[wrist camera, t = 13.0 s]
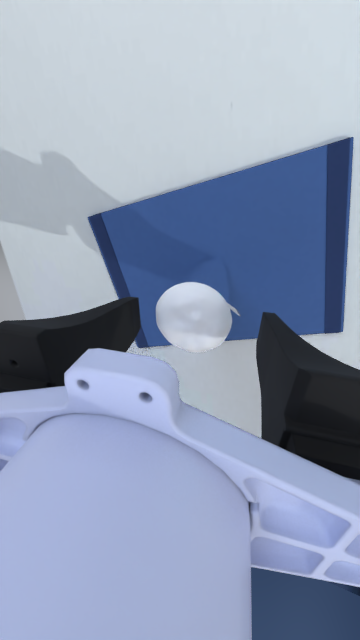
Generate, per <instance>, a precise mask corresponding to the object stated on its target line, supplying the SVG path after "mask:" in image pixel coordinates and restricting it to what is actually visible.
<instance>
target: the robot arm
mask: <svg viewBox="0 0 360 640" xmlns="http://www.w3.org/2000/svg"><path fill="white" fill-rule="evenodd" d="M140 328H141V321H140V309H139V298H138V297H125V298H122V299H119V300H116V301H113V302H110V303H108V304H105V305H102V306H99V307H96V308H93V309H90V310H87V311H84V312H80V313H76V314H71V315H66V316H60V317H55V318H47V319H37V320H16V321H3V322H1V323H0V640H252V637H251V636H252V634H251V567H256V568H262V569H267V570H272V571H277V572H283V573H288V574H294V575H299V576H304V577H310V578H315V579H320V580H326V581H331V582H336V583H342V584H347V585H352V586H357V587H360V370H358V369H356V368H353V367H351V366H349V365H346V364H344V363H342V362H340V361H338V360H336V359H334V358H332V357H330V356H328V355H326V354H325V353H323V352H321V351H319V350H318V349H316V348H315V347H313V346H312V345H310V344H309V343H307V342H306V341H305V340H303V339H302V338H301V337H300V336H298V335H297V334H296V333H295V332H294V331H293V330H292V329H291V328H289V327H288V326H287V325H286V324H285V323H284V322H283V321H282V320H281V319H280V318H279V317H278V316H277V315H276V314H275V313H269V312H263V314H262V319H261V324H260V329H259V334H258V338H257V345H256V359H257V367H258V374H259V381H260V388H261V407H262V439H261V438H259V437H257V436H255V435H252V434H250V433H248V432H246V431H244V430H242V429H240V428H237V427H235V426H233V425H231V424H229V423H227V422H225V421H222V420H220V419H218V418H216V417H214V416H212V415H210V414H207V413H205V412H203V411H201V410H199V409H197V408H195V407H192V406H190V405H188V404H186V403H184V402H183V401H182V400H181V399H180V395H179V380H178V377H177V373H176V371H175V370H174V369H173V368H172V367H171V366H170V365H169V364H168V363H167V362H165V361H162V360H159V359H157V358H154V357H149V356H143V355H137V354H131V353H126V351H127V350H128V348H129V347H130V346H131V344H132V343H133V341H134V340H135V338H136V336H137V334H138V332H139V330H140Z"/></svg>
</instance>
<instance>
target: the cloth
mask: <svg viewBox="0 0 360 640" xmlns="http://www.w3.org/2000/svg"><path fill="white" fill-rule="evenodd" d="M352 156H353V137H351V138H348V139H344V140H341V141H338V142H334V143H331V144H328V145H325V146H321V147H318V148H315V149H312V150H308V151H305V152H302V153H298V154H295V155H292V156H288V157H285V158H282V159H278V160H275V161H272V162H269V163H265V164H262V165H259V166H255V167H252V168H249V169H245V170H242V171H239V172H235V173H232V174H229V175H226V176H222V177H219V178H216V179H212V180H209V181H206V182H202V183H199V184H196V185H192V186H189V187H186V188H183V189H179V190H176V191H173V192H169V193H166V194H163V195H159V196H156V197H153V198H149V199H146V200H143V201H140V202H136V203H133V204H130V205H126V206H123V207H120V208H116V209H113V210H110V211H106V212H103V213H100V214H96V215H93V216H90V217H88V220H89V223H90V225H91V228H92V230H93V233H94V236H95V238H96V241H97V243H98V246H99V248H100V251H101V254H102V256H103V259H104V261H105V264H106V267H107V269H108V272H109V274H110V277H111V279H112V282H113V285H114V287H115V290H116V292H117V295H118V297H119V299H122V298H125V297H138V298H139V309H140V321H141V328H140V330H139V332H138V334H137V336H136V338H135V341H136V344H137V346H138V348H144V347H152V346H165V345H172V344H171V343H170V342H169V341H168V340H167V339H166V338H165V337H164V336H163V334H162V333H161V331H160V330H159V328H158V326H157V322H156V305H157V302H158V300H159V299H160V297H161V296H162V295H163V293H164V292H165V291H167V290H168V289H169V288H170V287H171V286H173V285H174V284H175V283H176V282H177V281H179V280H180V279H181V278H182V277H183V276H184V275H185V274H186V273H187V272H188V271H189V270H190V269H191V268H192V267H193V266H194V265H195V264H196V263H198V262H200V261H201V260H203V259H205V258H212V259H218V260H219V261H220V262H222V263H223V264H224V265H225V266H226V267H227V271H228V276H229V296H230V305H232V306H233V307H234V308H236V309H237V311H238V312H239V314H240V316H238V315H237V314H236V313H235V312H233V311H232V310H231V315H232V325H231V329H230V331H229V334H228V335H227V337H226V339H225V340H224V341H229V340H242V339H255V338H258V334H259V329H260V324H261V319H262V314H263V312H269V313H275V314H276V315H277V316H278V317H279V318H280V319H281V320H282V321H283V322H284V323H285V324H286V325H287V326H288V327H289V328H291V329H292V330H293V331H294V332H295V333H296V334H297V335H306V334H319V333H325V334H326V333H339V332H343V322H344V303H345V285H346V267H347V248H348V230H349V211H350V193H351V174H352Z"/></svg>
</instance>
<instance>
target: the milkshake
mask: <svg viewBox="0 0 360 640" xmlns="http://www.w3.org/2000/svg"><path fill="white" fill-rule="evenodd" d="M231 310H232V311H233V312H235V313H236V314H237V315H238V316H240V314H239V312H238V311H237V309H236V308H234V307H233V306H232V305H230V296H229V276H228V271H227V267H226V266H225V265H224V264H223V263H222V262H220V261H219V260H218V259H212V258H205V259H203V260H201V261H200V262H198V263H196V264H195V265H194V266H193V267H192V268H191V269H190V270H189V271H188V272H187V273H186V274H185V275H184V276H183V277H182V278H181V279H180V280H179V281H177V282H176V283H175V284H174V285H173V286H171V287H170V288H169V289H168V290H167V291H165V292H164V293H163V295H162V296H161V297H160V299H159V300H158V302H157V305H156V322H157V326H158V328H159V330H160V331H161V333H162V334H163V336H164V337H165V338H166V339H167V340H168V341H169V342H170V343H171V344H172V345H174V346H176V347H178V348H180V349H182V350H184V351H187V352H190V353H201V352H205V351H209V350H212V349H215V348H217V347H218V346H220V345H221V344H222V343H223V342H224V340H225V339H226V337H227V335H228V334H229V331H230V329H231V325H232V315H231Z"/></svg>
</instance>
